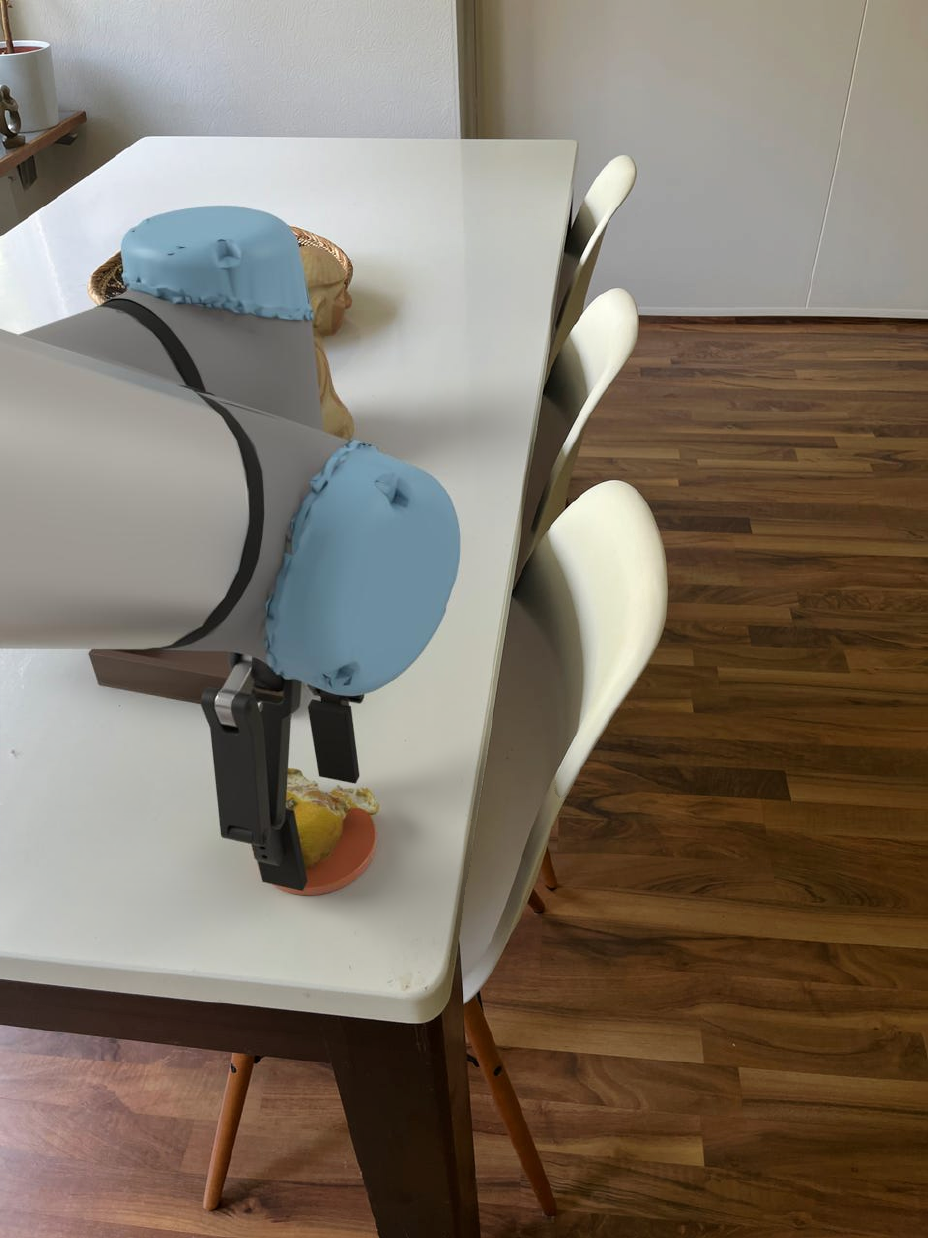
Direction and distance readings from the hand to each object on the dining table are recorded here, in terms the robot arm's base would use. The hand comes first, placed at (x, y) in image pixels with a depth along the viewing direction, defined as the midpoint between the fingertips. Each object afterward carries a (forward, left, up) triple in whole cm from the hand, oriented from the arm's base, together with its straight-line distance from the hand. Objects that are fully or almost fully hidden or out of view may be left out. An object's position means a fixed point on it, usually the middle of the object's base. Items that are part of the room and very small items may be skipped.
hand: (313, 826), depth 64 cm
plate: (0, 0, -2) cm, 2 cm away
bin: (+23, +16, -2) cm, 28 cm away
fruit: (+1, 0, 0) cm, 1 cm away
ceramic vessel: (+51, +26, -2) cm, 57 cm away
